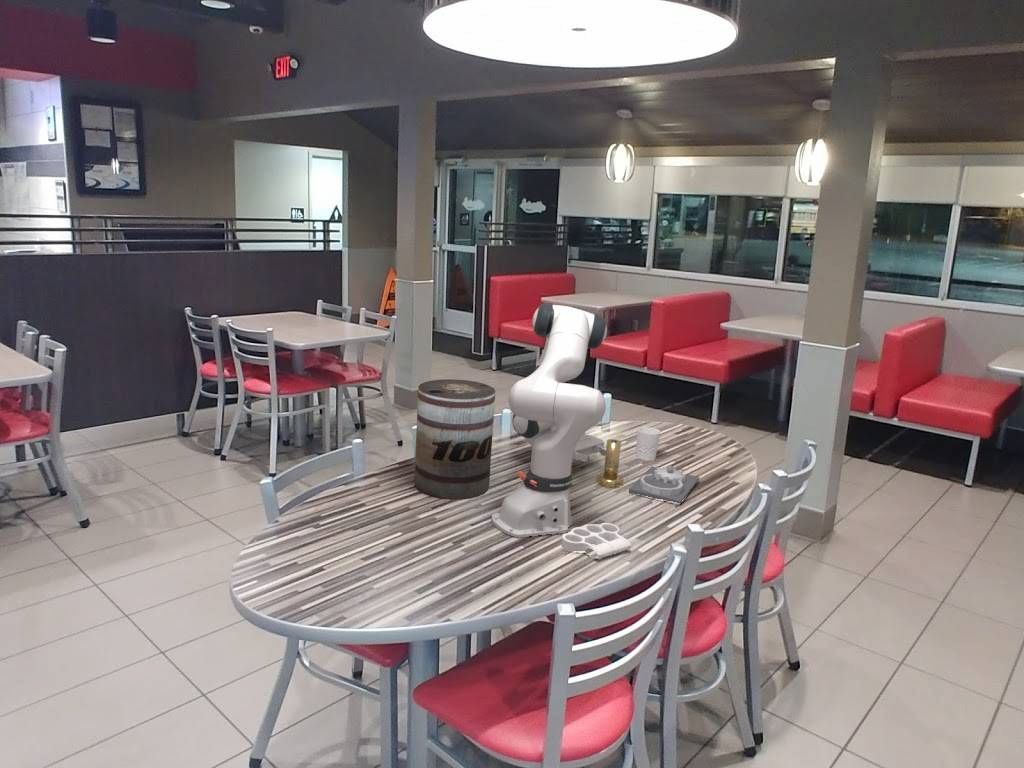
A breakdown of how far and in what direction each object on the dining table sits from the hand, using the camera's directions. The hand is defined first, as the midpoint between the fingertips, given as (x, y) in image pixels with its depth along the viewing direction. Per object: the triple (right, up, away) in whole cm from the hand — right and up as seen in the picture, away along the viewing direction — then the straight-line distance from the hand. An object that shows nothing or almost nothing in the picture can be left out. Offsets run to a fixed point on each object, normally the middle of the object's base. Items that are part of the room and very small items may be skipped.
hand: (597, 456), depth 240 cm
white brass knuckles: (-6, -19, -44) cm, 49 cm away
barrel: (-45, -8, -12) cm, 48 cm away
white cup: (+20, -3, +25) cm, 32 cm away
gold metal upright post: (+4, -9, -2) cm, 9 cm away
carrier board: (+21, -10, -1) cm, 23 cm away
